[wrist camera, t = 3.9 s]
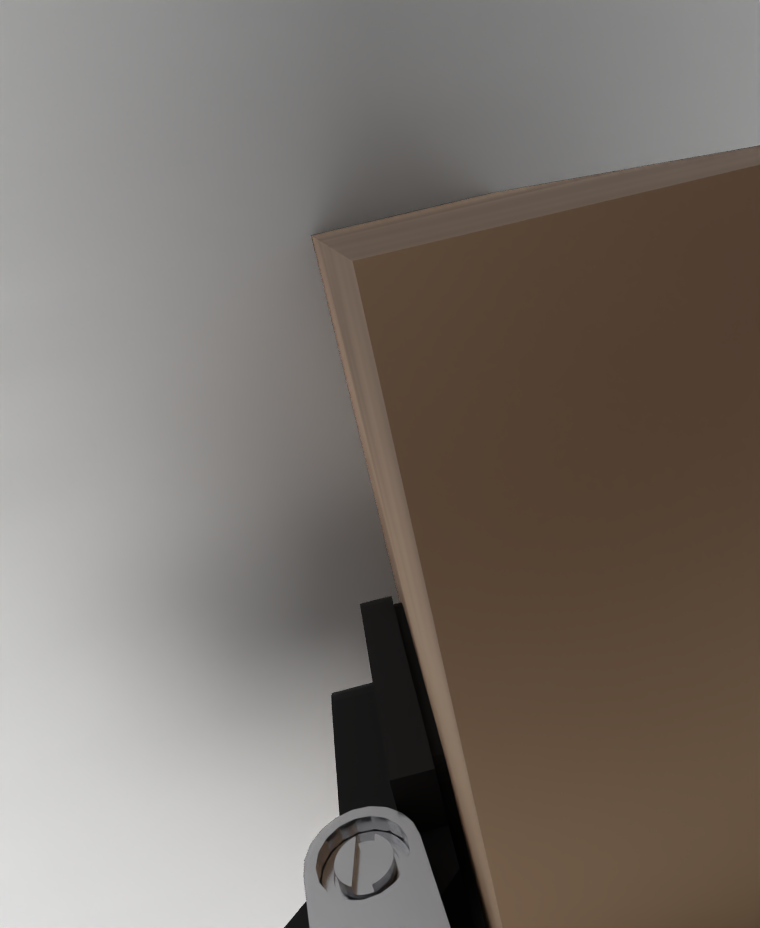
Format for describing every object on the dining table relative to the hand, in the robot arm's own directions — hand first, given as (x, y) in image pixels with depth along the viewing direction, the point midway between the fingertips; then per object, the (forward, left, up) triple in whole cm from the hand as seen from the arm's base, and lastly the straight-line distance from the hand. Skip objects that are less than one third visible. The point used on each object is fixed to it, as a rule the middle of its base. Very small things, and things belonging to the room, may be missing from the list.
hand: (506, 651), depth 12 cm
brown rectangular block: (0, 0, -2) cm, 2 cm away
